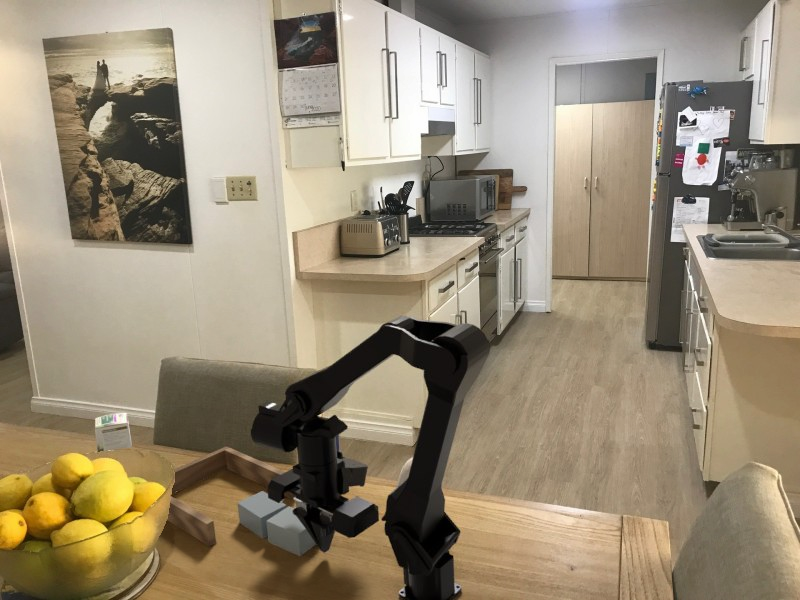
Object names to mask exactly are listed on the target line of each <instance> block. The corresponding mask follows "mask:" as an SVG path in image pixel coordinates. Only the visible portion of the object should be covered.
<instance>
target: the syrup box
mask: <svg viewBox="0 0 800 600" xmlns="http://www.w3.org/2000/svg"><path fill="white" fill-rule="evenodd" d="M130 431H131V429H130V424H129V416H128V412H120V413H119V412H118V413H111V414H105V415H101V416H98V417H96V418H94V434H95V441H96V448H97V449H96V450H97V453H98V452H100V451H108V450H114V449H122V448H132V449H133V444H132V437H131V432H130Z"/></svg>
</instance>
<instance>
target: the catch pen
mask: <svg viewBox="0 0 800 600" xmlns="http://www.w3.org/2000/svg"><path fill="white" fill-rule="evenodd" d="M173 470H174V472H175V483H174V485H173V488H172V495H175V494H176V493H175V492H176V491H179V490H181V489H183V490H185V489H187V488H189V487H191V486H194V485H195V483H196V484H198V483H200V482H202V481H204V480H206V479H208V478H210V477H212V475H213V476H214V474H215V475H217V474H219V473H221V472H223V471H225V470H229V471H231V472H233V473H236V474H237V475H239V476H242V477H243V478H246V479H248V480H251V481H252V482H255V483H256V484H258V485H260V486H263V487H265V488H267V487H268V485H269V483H270V481H271V480H272V479H274V478H276V477H277V476H279V475H281V474H283V473H285V472H286V471H284V470H281V469H279V468H277V467H275V466H272V465H270V464H267V463H265V462H263V461H262V460H259V459H256V458H254V457H252V456H250V455H247V454H245V453H242V452H240V451H238V450H236V449H234V448H231V447H229V446H224V447H222V448H219V449H217V450H215V451H213V452H210V453H208V454H206V455H204V456H201V457H199V458H197V459H194V460H192V461H189V462H187V463H186V464H184V465H181V466H179V467H177V468H174V469H173ZM220 471H221V472H220ZM218 472H219V473H218ZM209 476H210V477H209ZM207 477H208V478H207ZM205 478H206V479H205ZM203 479H204V480H203ZM201 480H202V481H201ZM199 481H200V482H199ZM197 482H198V483H197ZM193 484H194V485H193ZM188 486H189V487H188ZM184 488H185V489H184ZM181 491H182V490H181ZM179 492H180V491H179ZM174 493H175V494H174ZM284 497H286V498H288V499H291V500H293V501H294V497H295V495H294V494H292V493H290V492H288V491H287V492H285V493H284ZM167 521H169V522H170V523H171V524H173V525H174V526H176V527H178V528H179V529H181V530H183V531H184V532H186V533H188V535H191V536H193V537H194V538H195V539H198V540H199V541H201V542H202V543H204V544H205V545H207V546H209V547H211V546H213V545H215V544H216V543H217V538H216V531H215V522H214V519H211V518H210V517H208V516H206V515H205V514H202V513H201V512H200V511H197V510H195V509H194V508H192V507H190V506H188V505H187V504H185V503H183V502H182V501H180V500H178V498H177V499H176V498H175V497H173V496H171V501H170V508H169V514H168V520H167Z"/></svg>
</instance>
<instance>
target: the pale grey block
mask: <svg viewBox="0 0 800 600" xmlns="http://www.w3.org/2000/svg"><path fill="white" fill-rule="evenodd" d="M287 507H288V506H287V504H286V503H284V502H283V501H282V502H280V503H277V502H275V501H273V500H271V499H269V498H268V492H266V491H264V490H262V491H259V492H258V493H255V494H254V495H251V496H249V497H247V498H245V499H242V500H240V501H238V502H237V510H238V511H237V513H238V519H239V520H238V521H239V524H240V525H242V526H243V527H245V528H246V529H248V530H249V531H250V532H252V533H254V534H255V535H256V536H258V537H259V538H261V539H262V540H264V539H265V538H268V532H267V523H266V521H267V520H268V519H270V518H271V517H273V516H275V515H276V514H278V513H279V512H281V511H282V510H284V509H285V508H287Z"/></svg>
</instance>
